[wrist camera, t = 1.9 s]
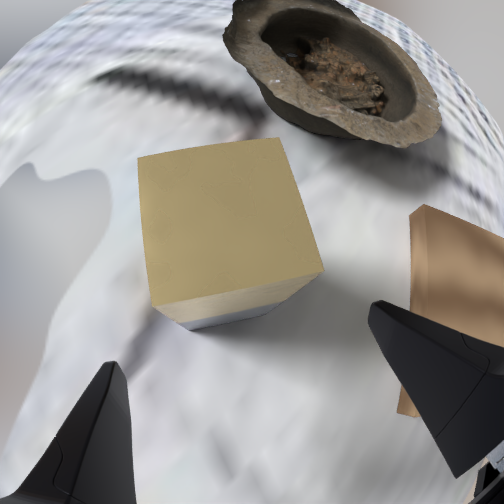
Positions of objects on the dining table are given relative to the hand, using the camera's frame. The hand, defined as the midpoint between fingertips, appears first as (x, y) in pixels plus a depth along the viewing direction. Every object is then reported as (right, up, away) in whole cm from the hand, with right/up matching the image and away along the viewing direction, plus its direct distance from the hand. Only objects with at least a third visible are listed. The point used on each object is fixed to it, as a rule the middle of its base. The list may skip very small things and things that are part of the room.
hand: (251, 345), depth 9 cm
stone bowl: (+9, +21, +20) cm, 31 cm away
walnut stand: (+20, -3, +13) cm, 24 cm away
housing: (-2, +1, +12) cm, 12 cm away
